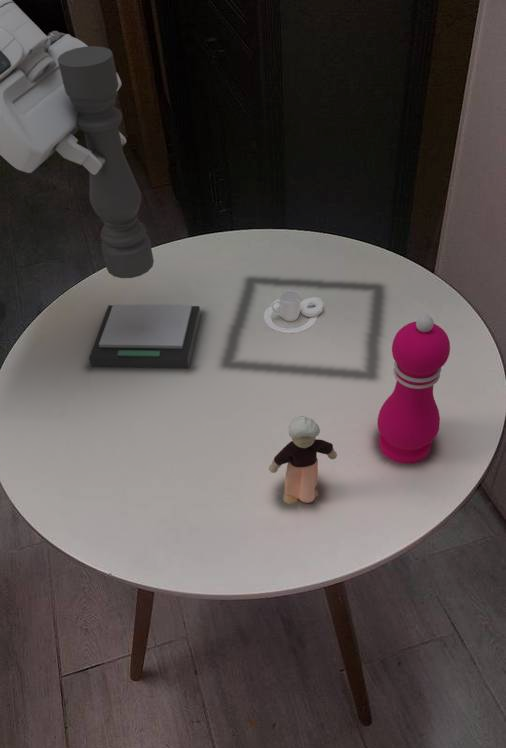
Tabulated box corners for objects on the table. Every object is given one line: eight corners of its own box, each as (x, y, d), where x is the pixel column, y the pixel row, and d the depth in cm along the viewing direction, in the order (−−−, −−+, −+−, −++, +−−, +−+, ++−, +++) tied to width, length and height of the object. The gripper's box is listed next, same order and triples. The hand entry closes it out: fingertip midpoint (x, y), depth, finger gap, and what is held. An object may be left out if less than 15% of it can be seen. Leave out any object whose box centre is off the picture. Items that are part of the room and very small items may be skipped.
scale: (92, 369, 97) (87, 354, 95) (111, 316, 105) (107, 301, 103) (189, 371, 96) (186, 356, 94) (201, 317, 104) (198, 302, 102)
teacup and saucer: (325, 304, 104) (326, 281, 101) (319, 337, 99) (319, 315, 96) (268, 300, 105) (267, 278, 102) (259, 333, 100) (258, 311, 97)
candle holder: (118, 284, 87) (68, 73, 68) (98, 261, 90) (46, 55, 71) (161, 267, 89) (124, 57, 70) (141, 245, 92) (100, 40, 73)
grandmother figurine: (282, 518, 78) (278, 445, 69) (268, 494, 81) (263, 420, 71) (341, 494, 80) (345, 419, 71) (325, 472, 83) (328, 396, 73)
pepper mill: (362, 447, 85) (375, 317, 70) (400, 416, 88) (419, 286, 73) (408, 478, 81) (432, 349, 66) (446, 446, 84) (477, 315, 69)
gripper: (48, 46, 82) (136, 135, 87) (-54, 118, 70) (55, 218, 75) (71, 5, 78) (162, 102, 83) (-33, 75, 65) (81, 184, 70)
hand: (111, 158), depth 78 cm, fingers closed on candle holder, 4 cm apart
